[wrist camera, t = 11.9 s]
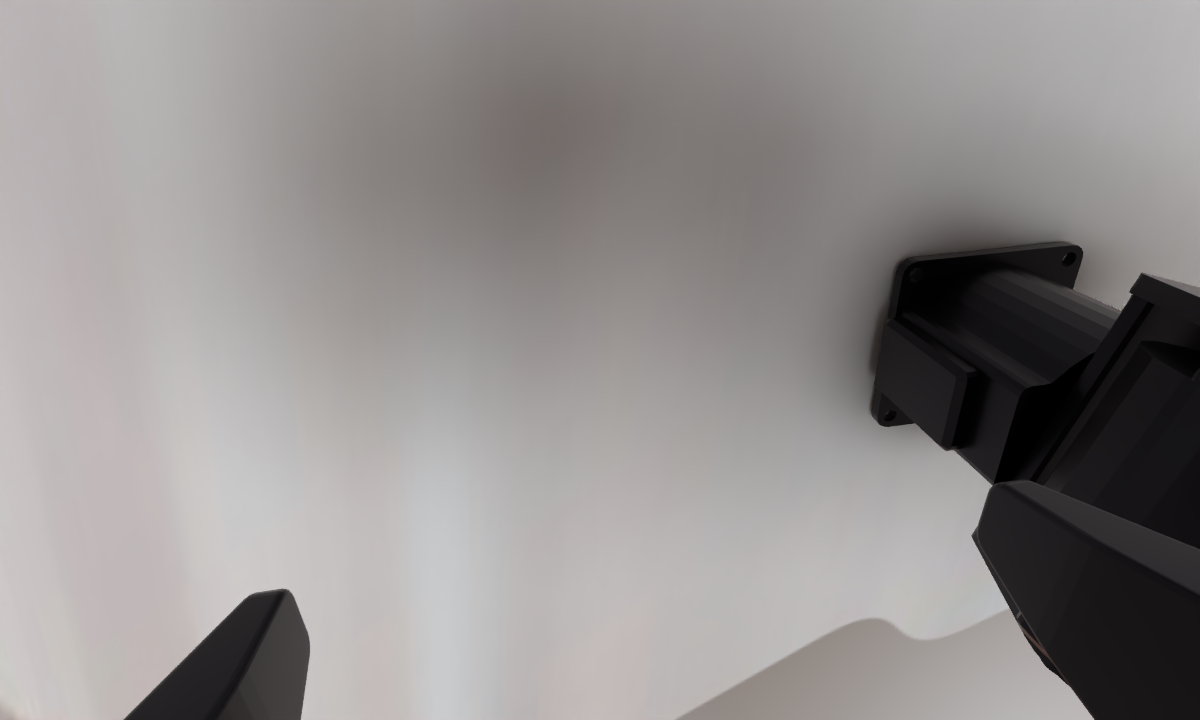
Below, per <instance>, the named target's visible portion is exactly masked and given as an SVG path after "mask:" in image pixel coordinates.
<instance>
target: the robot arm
mask: <svg viewBox="0 0 1200 720" xmlns="http://www.w3.org/2000/svg"><path fill="white" fill-rule="evenodd" d="M1066 254H1067V256H1066V257H1065V259H1064V260H1063V261H1062V259H1063V257H1064V256H1065V255H1066ZM1082 258H1083V251H1082V248H1081V247H1079V246H1078V245H1075V244H1072V243H1069V242H1057V243H1047V244H1037V245H1027V246H1017V247H1008V248H998V249H988V250H978V251H968V252H958V253H949V254H939V255H929V256H919V257H911V258H908V259H906V260H904V261H903V262H902V263H901V264H900V265H899V266H898V268H897V271H896V274H895V280H894V286H893V292H892V297H891V303H890V309H889V315H888V321H887V322H886V324H885V326H884V331H883V337H882V343H881V349H880V355H879V361H878V367H877V373H876V378H875V386H876V390H875V396H874V402H873V408H872V416H873V418H874V419H875V420H876V421H877V422H878V423H879V424H880V425H881V426H883V427H890V426H898V425H906V424H913V423H916V424H917V425H918V426H919V427H920V428H921V429H922V430H923V431H924V432H925V433H926V434H927V435H928V436H929V437H931V438H932V439H933V440H934V441H935V442H936V443H937V444H938V445H939V446H940V447H941V448H942V449H944V450H946V451H950V450H954V451H956V452H957V453H958V454H959V455H960V456H961V457H962V458H963V459H964V460H965V461H966V462H968V463H969V464H970V465H971V466H972V467H973V468H974V469H975V470H976V471H977V472H979V473H980V474H981V475H982V476H983V477H984V478H985V479H986V480H987V481H988V482H989V483H991V484H992V485H993V486H992V487H991V488H990V490H989V492H988V495H987V498H986V501H985V505H984V508H983V511H982V514H981V517H980V520H979V524H978V526H977V528H976V529H975V531H974V532H973V534H972V538H973V540H974V542H975V544H976V546H977V548H978V550H979V551H980V553H981V555H982V557H983V559H984V561H985V563H986V565H987V566H988V568H989V570H990V572H991V574H992V576H993V578H994V580H995V581H996V583H997V585H998V587H999V589H1000V591H1001V593H1002V594H1003V596H1004V598H1005V600H1006V602H1007V604H1008V606H1009V608H1010V609H1011V611H1012V613H1013V615H1014V617H1015V619H1016V621H1017V623H1018V624H1019V626H1020V628H1021V630H1022V632H1023V634H1024V636H1025V637H1026V639H1027V640H1028V642H1029V643H1030V645H1031V646H1032V648H1033V649H1034V651H1035V652H1036V653H1037V655H1038V656H1039V657H1040V659H1041V661H1042V662H1043V663H1044V665H1045V666H1046V667H1047V668H1049V670H1051V671H1052V672H1053V673H1055V674H1056V675H1058V676H1059V677H1060V678H1061V679H1062V680H1063V681H1064V682H1065V683H1066V684H1067V685H1069V686H1070V687H1071V688H1072V690H1073V691H1074V692H1075V694H1076V695H1077V696H1078V698H1079V699H1080V701H1081V702H1082V703H1083V705H1084V706H1085V707H1086V709H1087V710H1088V711H1089V713H1090V714H1091V715H1092V717H1093V718H1094V720H1200V288H1199V287H1196V286H1192V285H1188V284H1184V283H1180V282H1176V281H1172V280H1168V279H1164V278H1161V277H1157V276H1153V275H1149V274H1145V273H1141V274H1140V276H1139V277H1138V279H1137V281H1136V282H1135V284H1134V285H1133V287H1132V288H1131V290H1130V291H1129V292H1130V293H1132V294H1133V295H1132V296H1131V298H1130V299H1129V301H1128V302H1127V304H1126V306H1125V307H1124V309H1123V310H1122V311H1120V310H1118V309H1115V308H1113V307H1111V306H1109V305H1106V304H1104V303H1102V302H1100V301H1097V300H1095V299H1093V298H1090V297H1088V296H1086V295H1084V294H1081V293H1079V292H1077V291H1075V290H1073V287H1074V284H1075V280H1076V277H1077V274H1078V271H1079V268H1080V264H1081V261H1082ZM916 268H917V272H916V274H915V275H914V276H913V277H912V278H909V276H910V273H911V272H912V271H913V270H914V269H916ZM889 410H890V412H889V413H888V414H887V415H884V414H885V413H886V412H887V411H889ZM309 657H310V641H309V636H308V632H307V630H306V627H305V624H304V622H303V619H302V617H301V614H300V611H299V609H298V606H297V604H296V601H295V598H294V596H293V595H292V593H291V592H290V591H289V590H287V589H277V590H271V591H264V592H257V593H254V594H251V595H250V596H248V597H247V598H245V599H244V600H243V601H242V602H241V603H240V604H239V605H238V606H237V607H236V608H235V609H234V610H233V611H232V612H231V613H230V614H229V615H228V616H227V617H226V618H225V619H224V620H223V621H222V622H221V623H220V624H219V625H218V626H217V627H216V628H215V629H214V630H213V631H212V632H211V633H210V634H209V635H208V636H207V637H206V638H205V639H204V640H203V641H202V642H201V643H200V644H199V645H198V646H197V647H196V648H195V649H194V650H193V651H192V652H191V653H190V654H189V655H188V656H187V657H186V658H185V659H184V660H183V661H182V662H181V663H180V664H179V665H178V666H177V667H176V668H175V669H174V670H173V671H172V672H171V673H170V674H169V675H168V676H167V677H166V678H165V679H164V680H163V681H162V682H161V683H160V684H159V685H158V686H157V687H156V688H155V689H154V690H153V691H152V692H151V693H150V694H149V695H148V696H147V697H146V698H145V699H144V700H143V701H142V702H141V703H140V704H139V705H138V706H137V707H136V708H135V709H134V710H133V711H132V712H131V713H130V714H129V715H128V716H127V717H126V718H125V719H124V720H301V714H302V707H303V700H304V693H305V685H306V678H307V671H308V664H309Z"/></svg>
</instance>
